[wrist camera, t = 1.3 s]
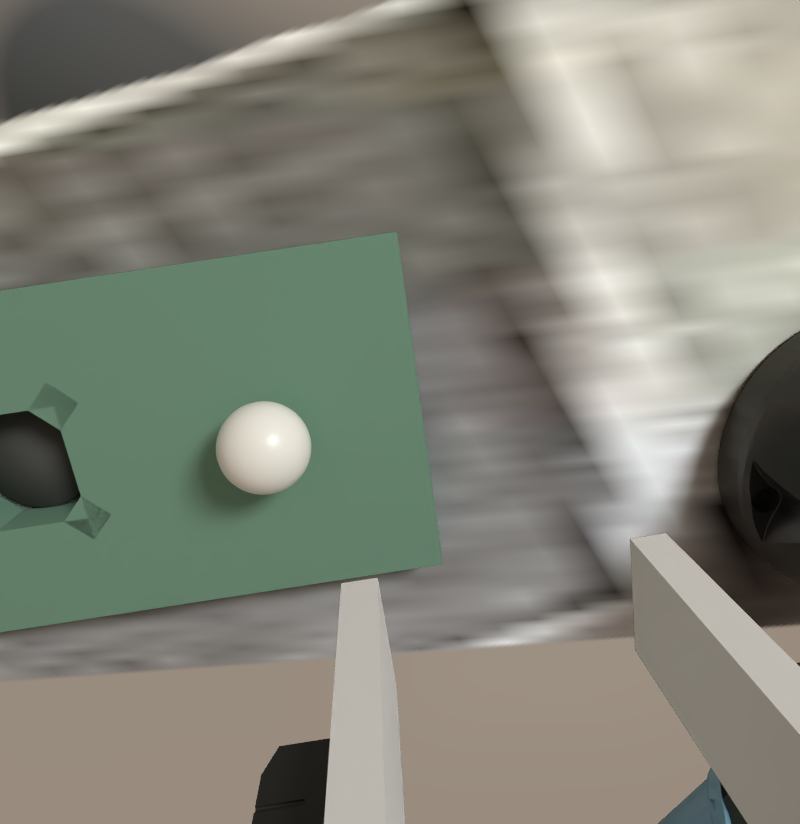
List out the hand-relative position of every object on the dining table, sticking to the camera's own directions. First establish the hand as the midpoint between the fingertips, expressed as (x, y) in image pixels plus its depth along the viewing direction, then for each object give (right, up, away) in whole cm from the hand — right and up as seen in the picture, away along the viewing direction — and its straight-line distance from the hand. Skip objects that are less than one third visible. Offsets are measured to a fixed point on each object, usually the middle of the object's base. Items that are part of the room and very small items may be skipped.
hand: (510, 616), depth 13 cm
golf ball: (-8, +3, +14) cm, 16 cm away
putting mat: (-14, +3, +18) cm, 23 cm away
